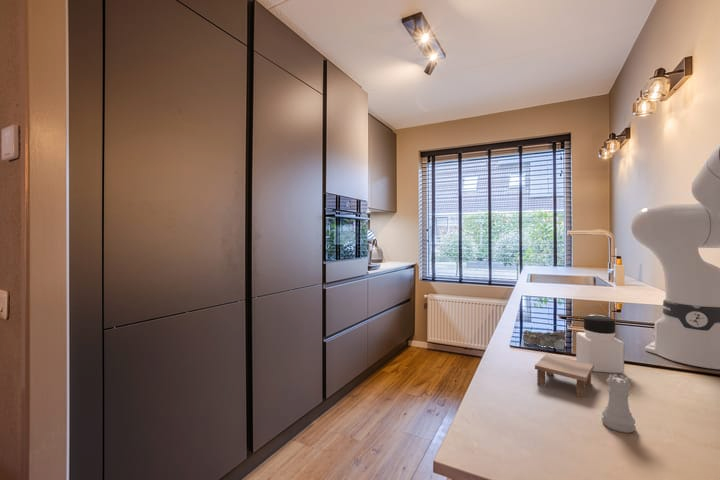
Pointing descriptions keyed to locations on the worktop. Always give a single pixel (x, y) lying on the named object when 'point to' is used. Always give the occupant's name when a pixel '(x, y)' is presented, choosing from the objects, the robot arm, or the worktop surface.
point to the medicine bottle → (600, 345)
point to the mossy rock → (545, 338)
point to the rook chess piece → (618, 406)
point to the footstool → (565, 370)
